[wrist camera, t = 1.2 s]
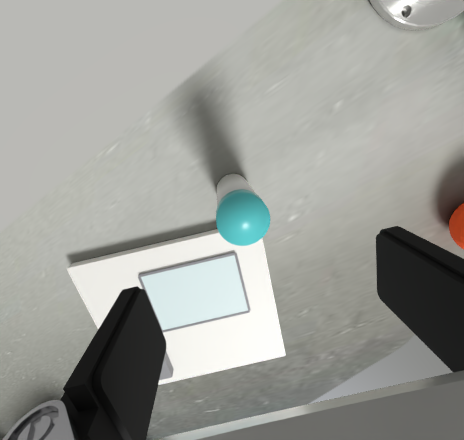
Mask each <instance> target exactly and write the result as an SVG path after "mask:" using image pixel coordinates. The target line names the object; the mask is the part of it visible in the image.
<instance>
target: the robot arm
mask: <svg viewBox="0 0 464 440" xmlns="http://www.w3.org/2000/svg"><path fill="white" fill-rule="evenodd" d="M369 1H370V2H371V4H372V6H373V8H374V9H375V10H376V11H377V12H378V13H379V15H380V16H381V17H382V18H383V19H385V20H386V21H388V22H389V23H390V24H392V25H394V26H397V27H399V28H402V29H407V30H423V29H429V28H432V27H435V26H438V25H440V24H442V23H444V22H446V21H448V20H450V19H452V18H454V17H456V16H457V15H459V14H460V13H462V12H463V11H464V0H369ZM376 259H377V292H378V295H379V297H380V299H381V300H382V301H383V302H384V303H385V304H386V305H387V306H388V307H389V308H390V309H391V310H392V311H393V312H394V313H395V314H396V315H397V316H398V317H399V318H400V319H401V320H402V321H403V322H404V323H405V324H406V325H407V326H408V327H409V328H410V329H411V330H412V331H413V332H414V333H415V334H416V335H417V336H418V337H419V338H420V339H421V340H422V341H423V342H424V343H425V344H426V345H427V346H428V347H429V348H430V349H431V350H432V351H433V352H434V353H435V354H436V355H437V356H438V357H439V358H440V359H441V360H442V361H443V362H444V363H445V364H446V365H447V366H448V367H449V368H450V369H451V370H452V371H453V372H454V373H449V374H445V375H440V376H435V377H431V378H426V379H421V380H417V381H412V382H407V383H403V384H398V385H394V386H389V387H385V388H380V389H375V390H371V391H366V392H362V393H357V394H352V395H348V396H344V397H340V398H334V399H330V400H325V401H321V402H316V403H312V404H307V405H303V406H299V407H294V408H290V409H285V410H281V411H276V412H272V413H267V414H263V415H258V416H254V417H250V418H245V419H241V420H237V421H232V422H228V423H224V424H219V425H215V426H210V427H206V428H202V429H197V430H193V431H189V432H184V433H180V434H176V435H171V436H167V437H163V438H159V439H155V440H464V259H462V258H461V257H459V256H457V255H455V254H453V253H451V252H449V251H447V250H445V249H443V248H441V247H439V246H437V245H435V244H433V243H431V242H429V241H427V240H425V239H423V238H421V237H419V236H417V235H415V234H413V233H411V232H409V231H407V230H405V229H403V228H401V227H398V226H395V227H391V228H387V229H382V230H381V231H380V233H379V234H378V235H377V236H376ZM165 352H166V340H165V337H164V335H163V332H162V330H161V327H160V325H159V323H158V320H157V318H156V315H155V313H154V311H153V308H152V306H151V303H150V301H149V299H148V296H147V294H146V291H145V290H144V289H140V288H139V287H138V286H136V287H132V288H128V289H124V290H122V291H121V293H120V294H119V296H118V298H117V299H116V301H115V303H114V304H113V306H112V308H111V309H110V311H109V313H108V314H107V316H106V318H105V319H104V321H103V323H102V324H101V326H100V328H99V329H98V331H97V333H96V334H95V336H94V338H93V339H92V341H91V343H90V344H89V346H88V348H87V350H86V351H85V353H84V355H83V356H82V358H81V360H80V361H79V363H78V365H77V366H76V368H75V370H74V371H73V373H72V375H71V376H70V378H69V380H68V381H67V383H66V385H65V386H64V388H63V390H64V391H65V393H64V395H63V397H62V398H61V400H51V401H47V402H45V403H42V404H40V405H38V406H37V407H35V408H34V409H32V410H30V411H29V412H28V413H27V414H25V415H24V416H23V417H22V418H20V419H19V420H18V421H17V423H16V424H15V425H14V426H13V427H12V428H11V429H10V430H9V431H8V433H7V434H6V435H5V437H4V438H3V439H2V440H146V436H147V431H148V427H149V423H150V418H151V414H152V409H153V405H154V401H155V396H156V392H157V387H158V383H159V379H160V374H161V370H162V365H163V361H164V357H165Z"/></svg>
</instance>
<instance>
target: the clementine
mask: <svg viewBox="0 0 464 440" xmlns="http://www.w3.org/2000/svg"><path fill="white" fill-rule="evenodd" d="M449 230H450V234H451V236H452V238H453V240H454V241H455V242H456V243H457V245H459V246H460V247H461V248H462V249H464V203H463V204H461V205H460V206H459V207H458V208H457V209H456V210H455V211H454V213H453V214H452V216H451V218H450V221H449Z"/></svg>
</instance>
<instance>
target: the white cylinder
mask: <svg viewBox="0 0 464 440" xmlns="http://www.w3.org/2000/svg"><path fill="white" fill-rule="evenodd" d="M216 223H217V228H218V231H219V233H220V235H221V236H222V237H223V238H224V239H225V240H226V241H227V242H229V243H231V244H234V245H238V246H247V245H251V244H254V243H256V242H257V241H259V240H260V239H261V238H262V237H263V236H264V235H265V234H266V232H267V230H268V228H269V225H270V214H269V211H268V208H267V207H266V205H265V204H264V202H263V201H262V200H261V198H260V197H259V196H258V195H257V194H256V193H255V192H254V191H253V189H252V188H251V186H250V185H249V184H248V182H247V181H246V179H245V178H244V177H242V176H240V175H238V174H228V175H226V176H224V177H223V178H222V179H221V180H220V181H219V183H218V185H217V210H216Z"/></svg>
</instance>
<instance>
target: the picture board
mask: <svg viewBox="0 0 464 440" xmlns="http://www.w3.org/2000/svg"><path fill="white" fill-rule="evenodd" d="M66 269H67V271H68V273H69V274H70V276H71V278H72V280H73V282H74V284H75V286H76V288H77V290H78V292H79V293H80V295H81V297H82V299H83V301H84V303H85V305H86V307H87V309H88V311H89V313H90V314H91V316H92V318H93V320H94V322H95V324H96V326H97V328H98V329H99V328H100V326H101V324H102V323H103V321H104V319H105V318H106V316H107V314H108V313H109V311H110V309H111V308H112V306H113V304H114V303H115V301H116V299H117V298H118V296H119V294H120V293H121V291H122V290H124V289H128V288H132V287H136V286H138V287H139V288H140V289H144V290H145V291H146V294H147V296H148V299H149V301H150V303H151V306H152V308H153V311H154V313H155V315H156V318H157V320H158V323H159V325H160V327H161V330H162V332H163V335H164V337H165V340H166V352H165V357H164V361H163V365H162V370H161V374H160V379H159V383H158V385H160V384H165V383H169V382H173V381H178V380H182V379H186V378H191V377H195V376H199V375H204V374H208V373H213V372H217V371H221V370H226V369H230V368H234V367H239V366H243V365H247V364H252V363H256V362H260V361H265V360H269V359H273V358H278V357H282V356H286V355H285V350H284V345H283V340H282V335H281V330H280V325H279V320H278V315H277V310H276V305H275V300H274V294H273V289H272V284H271V279H270V274H269V269H268V264H267V259H266V254H265V249H264V244H263V239H262V238H261V239H260V240H259V241H257V242H256V243H254V244H251V245H247V246H238V245H234V244H231V243H229V242H227V241H226V240H225V239H224V238H223V237H222V236H221V235H220V233H219V231H218V229H216V230H211V231H207V232H203V233H199V234H194V235H190V236H186V237H182V238H177V239H173V240H169V241H165V242H160V243H156V244H152V245H148V246H143V247H139V248H135V249H131V250H126V251H122V252H118V253H114V254H109V255H105V256H101V257H97V258H92V259H88V260H84V261H80V262H75V263H72V264H71V265H70V266H69V267H68V268H66Z"/></svg>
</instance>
